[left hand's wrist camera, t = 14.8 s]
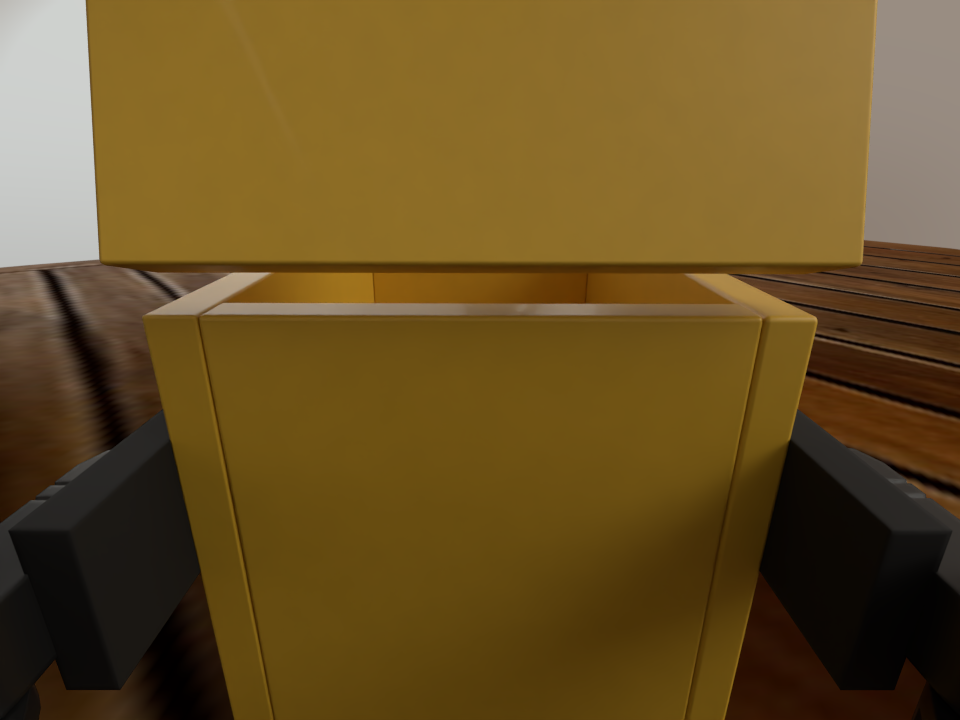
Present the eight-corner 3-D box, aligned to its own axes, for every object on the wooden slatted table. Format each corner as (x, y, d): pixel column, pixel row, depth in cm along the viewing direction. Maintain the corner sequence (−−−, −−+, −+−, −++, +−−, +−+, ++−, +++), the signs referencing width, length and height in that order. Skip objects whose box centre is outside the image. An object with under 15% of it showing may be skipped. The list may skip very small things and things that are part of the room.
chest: (368, 432, 25) (351, 215, 21) (590, 432, 25) (608, 216, 21) (240, 752, 11) (139, 315, 8) (718, 753, 11) (821, 317, 8)
